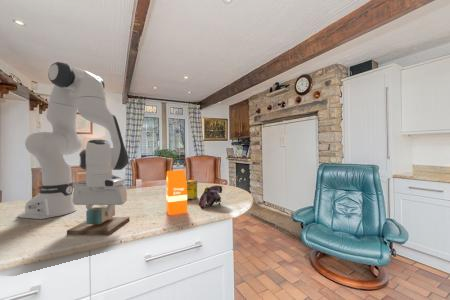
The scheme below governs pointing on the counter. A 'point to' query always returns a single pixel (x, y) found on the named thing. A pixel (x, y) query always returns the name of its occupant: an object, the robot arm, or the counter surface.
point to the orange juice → (176, 192)
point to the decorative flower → (210, 196)
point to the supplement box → (191, 189)
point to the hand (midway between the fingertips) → (100, 215)
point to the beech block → (98, 214)
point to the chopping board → (99, 227)
